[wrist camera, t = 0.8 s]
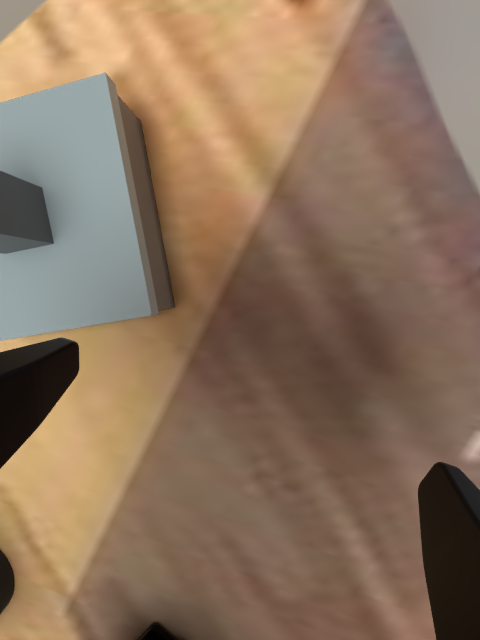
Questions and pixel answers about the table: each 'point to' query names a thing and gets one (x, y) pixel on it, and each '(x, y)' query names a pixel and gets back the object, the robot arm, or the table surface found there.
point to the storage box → (147, 207)
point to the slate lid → (69, 213)
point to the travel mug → (5, 582)
